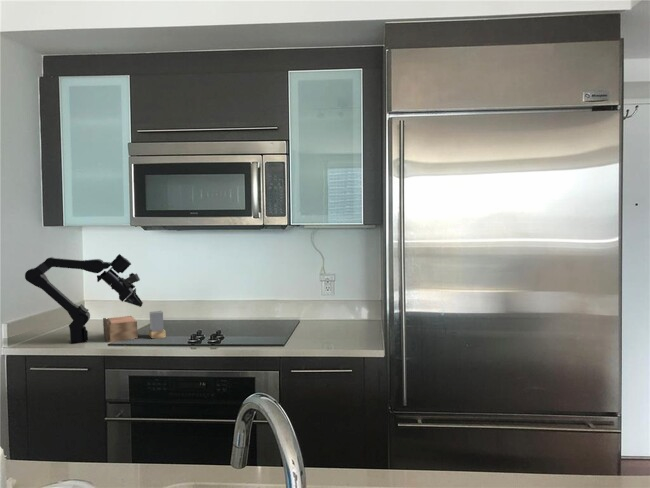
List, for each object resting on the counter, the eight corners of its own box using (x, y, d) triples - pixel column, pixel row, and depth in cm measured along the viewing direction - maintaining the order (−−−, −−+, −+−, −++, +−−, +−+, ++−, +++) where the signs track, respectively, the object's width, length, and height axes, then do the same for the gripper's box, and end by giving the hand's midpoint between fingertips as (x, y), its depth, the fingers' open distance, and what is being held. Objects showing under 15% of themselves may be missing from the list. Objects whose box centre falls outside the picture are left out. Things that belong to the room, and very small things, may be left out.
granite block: (151, 331, 250) (150, 313, 249) (150, 329, 254) (149, 311, 254) (163, 330, 252) (162, 312, 251) (162, 328, 256) (161, 310, 256)
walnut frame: (108, 342, 245) (107, 322, 245) (103, 337, 256) (103, 318, 256) (137, 338, 251) (136, 319, 250) (132, 333, 262) (131, 315, 262)
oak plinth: (151, 339, 249) (151, 332, 249) (148, 336, 254) (148, 329, 254) (165, 337, 252) (165, 330, 252) (162, 334, 257) (162, 328, 257)
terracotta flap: (110, 324, 247) (109, 321, 246) (106, 320, 255) (106, 318, 255) (135, 321, 251) (135, 318, 251) (131, 317, 260) (130, 315, 260)
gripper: (126, 269, 243) (154, 294, 246) (129, 265, 261) (155, 289, 265) (107, 288, 242) (135, 313, 245) (111, 284, 260) (138, 307, 263)
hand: (141, 305), depth 254 cm, fingers open, 6 cm apart
